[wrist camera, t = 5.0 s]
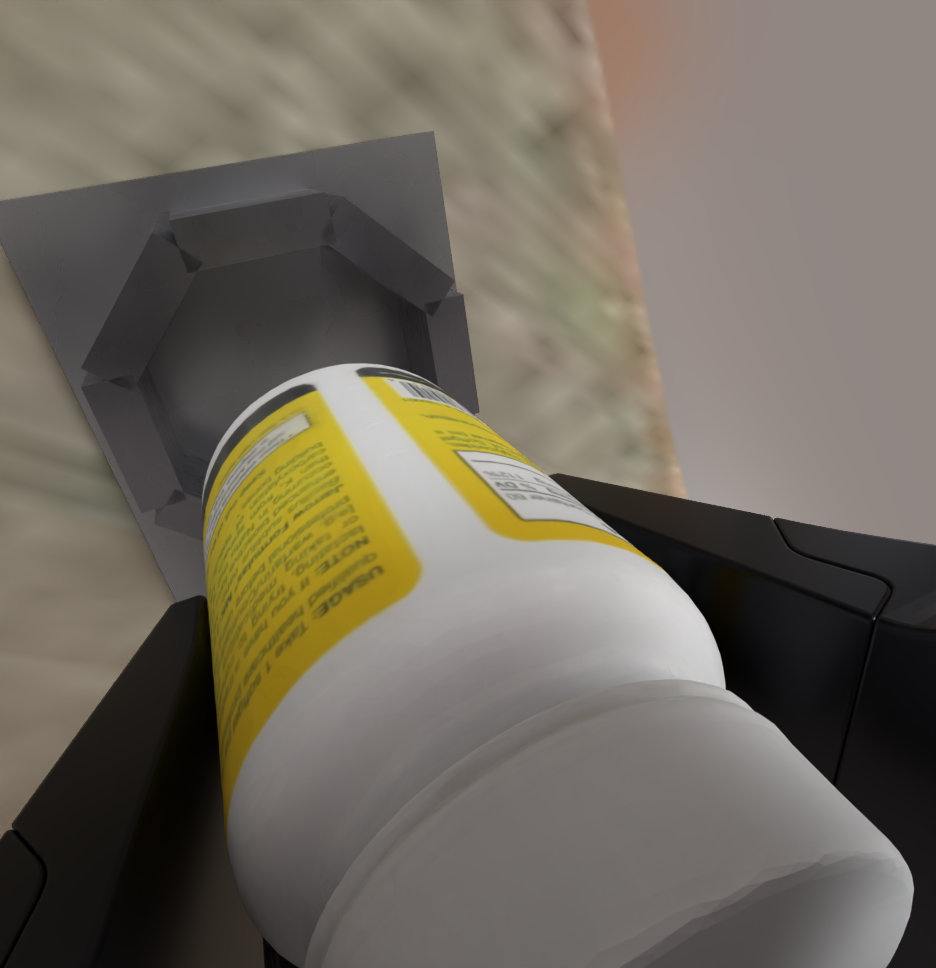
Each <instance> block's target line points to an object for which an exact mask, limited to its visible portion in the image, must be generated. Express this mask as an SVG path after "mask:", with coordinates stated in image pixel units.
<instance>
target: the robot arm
mask: <svg viewBox="0 0 936 968" xmlns="http://www.w3.org/2000/svg"><path fill="white" fill-rule="evenodd" d="M549 477H550V478H551V479H552V480H553V481H555V482H556V483H557V484H558V485H559V486H561V487H562V488H563V489H564V490H565V491H567V492H568V493H569V494H570V495H572V496H573V497H574V498H575V499H576V500H578V501H579V502H580V503H581V504H582V505H584V506H585V507H586V508H587V509H589V510H590V511H591V512H592V513H594V514H595V515H596V516H597V517H599V518H600V519H601V520H602V521H603V522H605V523H606V524H607V525H608V526H610V527H611V528H612V529H613V530H615V531H616V532H617V533H618V534H619V535H620V536H622V537H623V538H624V539H626V540H627V541H628V542H629V543H630V544H632V545H633V546H634V547H635V548H637V549H638V550H639V551H640V552H641V553H643V554H644V555H645V556H647V557H648V558H649V559H651V560H652V561H653V562H655V563H656V564H657V565H659V566H660V567H661V568H662V569H663V570H664V571H665V572H666V573H667V574H668V575H669V576H670V577H671V578H672V579H673V580H674V581H675V582H676V584H677V585H678V586H679V587H680V588H681V589H682V590H683V591H684V592H685V593H686V594H687V595H688V596H689V597H690V599H691V600H692V601H693V603H694V604H695V605H696V607H697V608H698V609H699V611H700V612H701V614H702V615H703V616H704V618H705V620H706V622H707V624H708V626H709V628H710V630H711V632H712V634H713V636H714V639H715V641H716V644H717V647H718V650H719V652H720V656H721V660H722V665H723V671H724V677H725V687H726V690H728V691H730V692H732V693H733V694H735V695H736V696H738V697H739V698H740V699H742V700H743V701H744V702H746V703H747V704H748V705H749V706H750V707H751V708H752V710H753V711H754V712H757V713H759V714H760V715H762V716H764V717H765V718H766V719H768V720H769V721H771V722H772V723H773V724H775V725H776V727H777V728H778V729H779V730H780V731H781V732H782V733H783V734H784V736H785V737H786V738H787V739H788V740H789V741H790V742H791V744H792V745H793V746H794V747H795V748H796V749H797V750H798V751H799V752H800V753H801V754H802V755H803V756H804V757H805V758H806V759H807V760H808V761H809V762H810V763H811V764H812V765H813V766H814V767H815V768H816V769H817V770H818V771H819V772H820V773H821V774H822V775H823V776H824V777H825V778H826V779H827V780H828V781H829V782H830V783H831V784H832V785H833V786H834V787H835V788H836V789H837V790H838V791H839V792H840V793H841V794H842V795H843V796H844V797H845V798H846V799H847V800H848V801H849V802H850V803H851V804H852V805H853V806H854V807H856V808H857V809H858V810H859V811H860V812H861V813H862V814H863V815H864V816H865V817H866V818H867V819H868V820H869V821H870V822H871V823H872V824H873V825H874V826H875V827H876V828H877V829H878V830H879V831H880V832H881V833H882V834H883V835H885V836H886V837H887V838H888V839H889V841H890V842H891V843H892V844H893V845H894V846H895V848H896V849H897V850H898V851H899V852H900V854H901V855H902V857H903V859H904V860H905V862H906V864H907V865H908V867H909V870H910V872H911V875H912V879H913V885H914V893H913V900H912V907H911V913H910V917H909V920H908V922H907V925H906V928H905V931H904V934H903V936H902V938H901V940H900V943H899V945H898V947H897V949H896V951H895V953H894V955H893V957H892V959H891V961H890V962H889V964H888V965H887V967H886V968H936V545H933V544H926V543H919V542H912V541H905V540H899V539H892V538H885V537H880V536H873V535H867V534H861V533H854V532H848V531H842V530H837V529H832V528H826V527H821V526H815V525H810V524H805V523H800V522H795V521H790V520H786V519H781V518H775V519H774V520H773V519H772V518H771V517H770V516H765V515H761V514H756V513H751V512H746V511H741V510H736V509H731V508H726V507H721V506H716V505H711V504H706V503H701V502H696V501H692V500H687V499H682V498H677V497H672V496H667V495H662V494H657V493H653V492H648V491H643V490H638V489H633V488H628V487H623V486H618V485H613V484H608V483H604V482H599V481H594V480H589V479H584V478H579V477H574V476H569V475H564V474H559V473H557V474H552V475H549ZM12 828H13V830H8V831H6V832H5V833H4V835H3V836H2V838H1V839H0V968H299V967H297V966H296V965H294V964H292V963H291V962H290V961H288V960H287V959H285V958H284V957H283V956H281V955H280V954H278V953H277V952H276V950H275V949H274V948H273V947H272V946H271V945H270V944H269V943H268V942H267V941H266V940H265V938H264V937H263V936H262V934H261V933H260V932H259V930H258V929H257V928H256V926H255V925H254V924H253V922H252V921H251V919H250V917H249V915H248V913H247V911H246V909H245V907H244V905H243V903H242V901H241V899H240V897H239V893H238V890H237V886H236V882H235V878H234V875H233V871H232V867H231V863H230V859H229V855H228V850H227V845H226V838H225V831H224V810H223V794H222V786H221V774H220V754H219V741H218V726H217V711H216V701H215V691H214V678H213V665H212V651H211V637H210V625H209V613H208V600H207V598H206V597H205V596H203V595H197V596H194V597H191V598H188V599H185V600H182V601H179V602H176V603H174V604H172V605H171V606H170V607H169V608H168V609H167V611H166V612H165V614H164V615H163V616H162V618H161V619H160V620H159V622H158V623H157V625H156V626H155V627H154V629H153V630H152V631H151V633H150V634H149V636H148V637H147V638H146V640H145V641H144V642H143V644H142V645H141V647H140V648H139V649H138V651H137V652H136V654H135V655H134V656H133V658H132V659H131V660H130V662H129V663H128V665H127V666H126V667H125V669H124V670H123V671H122V673H121V674H120V676H119V677H118V678H117V680H116V681H115V682H114V684H113V685H112V687H111V688H110V689H109V691H108V692H107V693H106V695H105V696H104V698H103V699H102V700H101V702H100V703H99V704H98V706H97V707H96V709H95V710H94V711H93V713H92V714H91V715H90V717H89V718H88V720H87V721H86V722H85V724H84V725H83V726H82V728H81V729H80V731H79V732H78V733H77V735H76V736H75V738H74V739H73V740H72V742H71V743H70V744H69V746H68V747H67V749H66V750H65V751H64V753H63V754H62V755H61V757H60V758H59V760H58V761H57V762H56V764H55V765H54V766H53V768H52V769H51V771H50V772H49V773H48V775H47V776H46V777H45V779H44V780H43V782H42V783H41V784H40V786H39V787H38V788H37V790H36V791H35V793H34V794H33V795H32V797H31V798H30V799H29V801H28V802H27V804H26V805H25V806H24V808H23V809H22V810H21V812H20V813H19V815H18V816H17V817H16V819H15V820H14V821H13V823H12Z"/></svg>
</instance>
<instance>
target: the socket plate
mask: <svg viewBox="0 0 936 968" xmlns="http://www.w3.org/2000/svg"><path fill="white" fill-rule="evenodd" d="M0 242H1V244H2V246H3V248H4V250H5V252H6V254H7V257H8V259H9V261H10V263H11V265H12V267H13V269H14V271H15V273H16V275H17V277H18V279H19V281H20V283H21V285H22V287H23V289H24V291H25V293H26V295H27V297H28V299H29V301H30V304H31V306H32V308H33V310H34V312H35V314H36V316H37V318H38V320H39V322H40V324H41V326H42V328H43V330H44V332H45V334H46V336H47V338H48V340H49V342H50V344H51V346H52V348H53V350H54V353H55V355H56V357H57V359H58V361H59V363H60V365H61V367H62V369H63V371H64V373H65V375H66V377H67V379H68V381H69V383H70V385H71V387H72V389H73V391H74V393H75V395H76V397H77V400H78V402H79V404H80V406H81V408H82V410H83V412H84V414H85V416H86V418H87V420H88V422H89V424H90V426H91V428H92V430H93V432H94V434H95V436H96V438H97V440H98V442H99V444H100V447H101V449H102V451H103V453H104V455H105V457H106V459H107V461H108V463H109V465H110V467H111V469H112V471H113V473H114V475H115V477H116V479H117V481H118V483H119V485H120V487H121V489H122V491H123V494H124V496H125V498H126V500H127V502H128V504H129V506H130V508H131V510H132V512H133V514H134V516H135V518H136V520H137V522H138V524H139V526H140V528H141V530H142V532H143V534H144V536H145V538H146V540H147V543H148V545H149V547H150V549H151V551H152V553H153V555H154V557H155V559H156V561H157V563H158V565H159V567H160V569H161V571H162V573H163V575H164V577H165V579H166V581H167V583H168V585H169V587H170V590H171V592H172V594H173V596H174V598H175V600H176V602H179V601H182V600H185V599H188V598H191V597H194V596H197V595H203V596H205V597H206V598H207V587H206V573H205V562H204V546H203V534H202V520H201V515H202V495H203V487H204V482H205V477H206V474H207V470H208V467H209V464H210V461H211V459H212V457H213V455H214V452H215V450H216V448H217V446H218V444H219V443H220V441H221V439H222V438H223V436H224V435H225V433H226V432H227V430H228V429H229V428H230V426H231V425H232V424H233V422H234V421H235V420H236V419H237V418H238V417H239V416H240V415H241V414H242V413H243V412H244V411H245V410H246V409H247V408H248V407H249V406H250V405H251V404H252V403H254V402H255V401H256V400H258V399H259V398H260V397H262V396H263V395H265V394H266V393H267V392H269V391H270V390H272V389H274V388H276V387H277V386H279V385H281V384H283V383H285V382H286V381H289V380H291V379H293V378H295V377H298V376H301V375H303V374H306V373H309V372H311V371H314V370H317V369H321V368H325V367H330V366H335V365H341V364H359V363H365V364H379V365H384V366H390V367H394V368H398V369H402V370H405V371H408V372H410V373H413V374H415V375H418V376H420V377H422V378H424V379H426V380H428V381H430V382H431V383H433V384H434V385H436V386H438V387H439V388H441V389H442V390H443V391H444V392H446V393H447V394H448V395H450V396H451V397H453V398H454V399H455V400H456V401H457V402H459V403H460V404H461V405H462V406H463V407H464V408H466V409H467V410H468V411H469V412H470V413H472V414H473V415H474V416H475V413H479V405H478V398H477V391H476V384H475V377H474V369H473V362H472V355H471V348H470V341H469V334H468V327H467V319H466V312H465V305H464V298H463V294H461V293H459V292H457V290H456V283H455V276H454V269H453V262H452V255H451V248H450V241H449V234H448V227H447V221H446V214H445V207H444V200H443V193H442V186H441V179H440V172H439V165H438V158H437V151H436V144H435V137H434V131H431V132H424V133H417V134H410V135H404V136H398V137H392V138H386V139H380V140H374V141H367V142H361V143H355V144H349V145H343V146H337V147H330V148H324V149H318V150H312V151H306V152H300V153H294V154H287V155H281V156H275V157H269V158H263V159H257V160H250V161H244V162H238V163H232V164H226V165H220V166H214V167H207V168H201V169H195V170H189V171H183V172H177V173H170V174H164V175H158V176H152V177H146V178H140V179H134V180H127V181H121V182H115V183H109V184H103V185H97V186H90V187H84V188H78V189H72V190H66V191H60V192H54V193H47V194H41V195H35V196H29V197H23V198H17V199H10V200H4V201H0Z"/></svg>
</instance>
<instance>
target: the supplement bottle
mask: <svg viewBox="0 0 936 968" xmlns="http://www.w3.org/2000/svg"><path fill="white" fill-rule="evenodd" d="M201 520H202V534H203V546H204V562H205V573H206V587H207V600H208V613H209V625H210V637H211V651H212V665H213V678H214V691H215V701H216V711H217V726H218V741H219V754H220V774H221V786H222V794H223V810H224V831H225V838H226V845H227V850H228V855H229V859H230V863H231V867H232V871H233V875H234V878H235V882H236V886H237V890H238V893H239V897H240V899H241V901H242V903H243V905H244V907H245V909H246V911H247V913H248V915H249V917H250V919H251V921H252V922H253V924H254V925H255V926H256V928H257V929H258V930H259V932H260V933H261V934H262V936H263V937H264V938H265V940H266V941H267V942H268V943H269V944H270V945H271V946H272V947H273V948H274V949H275V950H276V952H277V953H278V954H280V955H281V956H283V957H284V958H285V959H287V960H288V961H290V962H291V963H292V964H294V965H296V966H297V967H299V968H886V967H887V965H888V964H889V962H890V961H891V959H892V957H893V955H894V953H895V951H896V949H897V947H898V945H899V943H900V940H901V938H902V936H903V934H904V931H905V928H906V925H907V922H908V920H909V917H910V913H911V907H912V900H913V893H914V885H913V879H912V875H911V872H910V870H909V867H908V865H907V864H906V862H905V860H904V859H903V857H902V855H901V854H900V852H899V851H898V850H897V849H896V848H895V846H894V845H893V844H892V843H891V842H890V841H889V839H888V838H887V837H886V836H885V835H883V834H882V833H881V832H880V831H879V830H878V829H877V828H876V827H875V826H874V825H873V824H872V823H871V822H870V821H869V820H868V819H867V818H866V817H865V816H864V815H863V814H862V813H861V812H860V811H859V810H858V809H857V808H856V807H854V806H853V805H852V804H851V803H850V802H849V801H848V800H847V799H846V798H845V797H844V796H843V795H842V794H841V793H840V792H839V791H838V790H837V789H836V788H835V787H834V786H833V785H832V784H831V783H830V782H829V781H828V780H827V779H826V778H825V777H824V776H823V775H822V774H821V773H820V772H819V771H818V770H817V769H816V768H815V767H814V766H813V765H812V764H811V763H810V762H809V761H808V760H807V759H806V758H805V757H804V756H803V755H802V754H801V753H800V752H799V751H798V750H797V749H796V748H795V747H794V746H793V745H792V744H791V742H790V741H789V740H788V739H787V738H786V737H785V736H784V734H783V733H782V732H781V731H780V730H779V729H778V728H777V727H776V725H775V724H773V723H772V722H771V721H769V720H768V719H766V718H765V717H764V716H762V715H760V714H759V713H757V712H754V711H753V710H752V708H751V707H750V706H749V705H748V704H747V703H746V702H744V701H743V700H742V699H740V698H739V697H738V696H736V695H735V694H733V693H732V692H730V691H728V690H726V687H725V677H724V671H723V665H722V660H721V656H720V652H719V650H718V647H717V644H716V641H715V639H714V636H713V634H712V632H711V630H710V628H709V626H708V624H707V622H706V620H705V618H704V616H703V615H702V614H701V612H700V611H699V609H698V608H697V607H696V605H695V604H694V603H693V601H692V600H691V599H690V597H689V596H688V595H687V594H686V593H685V592H684V591H683V590H682V589H681V588H680V587H679V586H678V585H677V584H676V582H675V581H674V580H673V579H672V578H671V577H670V576H669V575H668V574H667V573H666V572H665V571H664V570H663V569H662V568H661V567H660V566H659V565H657V564H656V563H655V562H653V561H652V560H651V559H649V558H648V557H647V556H645V555H644V554H643V553H641V552H640V551H639V550H638V549H637V548H635V547H634V546H633V545H632V544H630V543H629V542H628V541H627V540H626V539H624V538H623V537H622V536H620V535H619V534H618V533H617V532H616V531H615V530H613V529H612V528H611V527H610V526H608V525H607V524H606V523H605V522H603V521H602V520H601V519H600V518H599V517H597V516H596V515H595V514H594V513H592V512H591V511H590V510H589V509H587V508H586V507H585V506H584V505H582V504H581V503H580V502H579V501H578V500H576V499H575V498H574V497H573V496H572V495H570V494H569V493H568V492H567V491H565V490H564V489H563V488H562V487H561V486H559V485H558V484H557V483H556V482H555V481H553V480H552V479H551V478H550V477H549V476H547V475H546V474H545V473H544V472H543V471H541V470H540V469H539V468H538V467H537V466H535V465H534V464H533V463H532V462H531V461H529V460H528V459H527V458H526V457H524V456H523V455H522V454H521V453H520V452H518V451H517V450H516V449H515V448H514V447H512V446H511V445H510V444H509V443H507V442H506V441H505V440H504V439H502V438H501V437H500V436H499V435H497V434H496V433H495V432H494V431H493V430H491V429H490V428H489V427H488V426H487V425H485V424H484V423H483V422H482V421H480V420H479V419H478V418H477V417H475V416H474V415H473V414H472V413H470V412H469V411H468V410H467V409H466V408H464V407H463V406H462V405H461V404H460V403H459V402H457V401H456V400H455V399H454V398H453V397H451V396H450V395H448V394H447V393H446V392H444V391H443V390H442V389H441V388H439V387H438V386H436V385H434V384H433V383H431V382H430V381H428V380H426V379H424V378H422V377H420V376H418V375H415V374H413V373H410V372H408V371H405V370H402V369H398V368H394V367H390V366H384V365H379V364H365V363H359V364H341V365H335V366H330V367H325V368H321V369H317V370H314V371H311V372H309V373H306V374H303V375H301V376H298V377H295V378H293V379H291V380H289V381H286V382H285V383H283V384H281V385H279V386H277V387H276V388H274V389H272V390H270V391H269V392H267V393H266V394H265V395H263V396H262V397H260V398H259V399H258V400H256V401H255V402H254V403H252V404H251V405H250V406H249V407H248V408H247V409H246V410H245V411H244V412H243V413H242V414H241V415H240V416H239V417H238V418H237V419H236V420H235V421H234V422H233V424H232V425H231V426H230V428H229V429H228V430H227V432H226V433H225V435H224V436H223V438H222V439H221V441H220V443H219V444H218V446H217V448H216V450H215V452H214V455H213V457H212V459H211V461H210V464H209V467H208V470H207V474H206V477H205V482H204V487H203V495H202V515H201Z"/></svg>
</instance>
